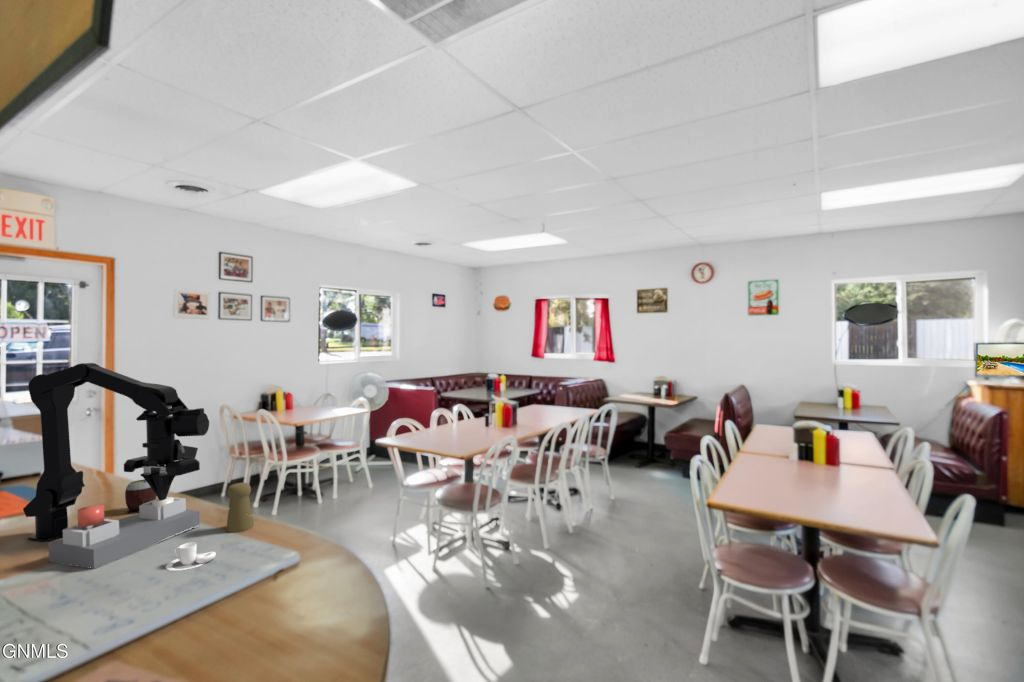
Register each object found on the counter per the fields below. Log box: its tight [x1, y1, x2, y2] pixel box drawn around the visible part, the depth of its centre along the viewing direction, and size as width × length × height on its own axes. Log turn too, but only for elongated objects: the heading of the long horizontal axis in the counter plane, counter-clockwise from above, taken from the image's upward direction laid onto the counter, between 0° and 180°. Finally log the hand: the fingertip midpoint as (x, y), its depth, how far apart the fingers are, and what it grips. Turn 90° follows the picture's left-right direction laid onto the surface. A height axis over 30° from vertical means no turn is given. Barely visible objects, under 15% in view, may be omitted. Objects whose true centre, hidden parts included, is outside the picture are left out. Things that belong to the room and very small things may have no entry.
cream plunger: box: [152, 496, 174, 506], centre depth 124 cm, size 4×4×3 cm
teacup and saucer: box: [165, 541, 217, 572], centre depth 105 cm, size 9×8×4 cm
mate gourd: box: [124, 478, 157, 514], centre depth 140 cm, size 8×8×15 cm
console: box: [48, 496, 200, 569], centre depth 116 cm, size 14×24×7 cm, turn 162°
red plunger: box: [77, 504, 105, 527], centre depth 109 cm, size 4×4×3 cm
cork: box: [225, 482, 254, 533], centre depth 124 cm, size 6×6×11 cm
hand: (162, 499), depth 124 cm, fingers closed, pressing on cream plunger
